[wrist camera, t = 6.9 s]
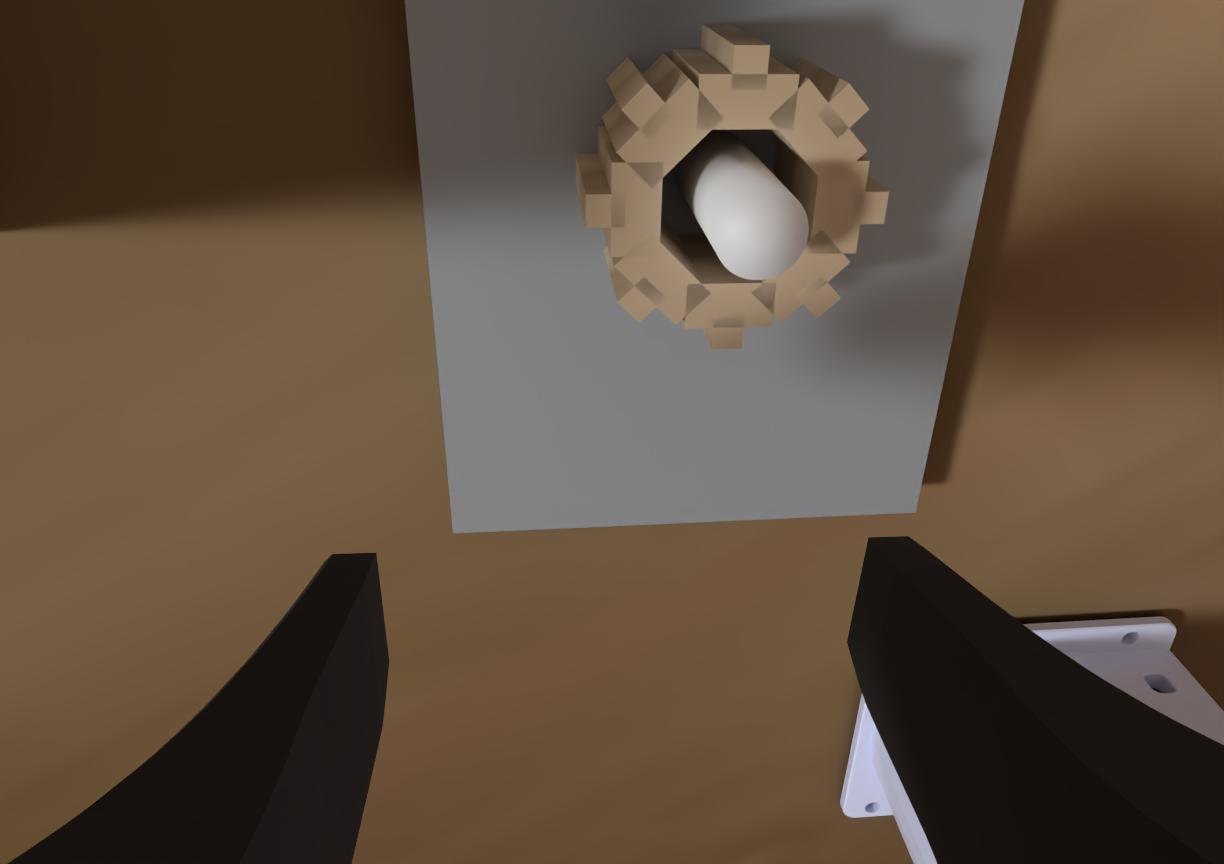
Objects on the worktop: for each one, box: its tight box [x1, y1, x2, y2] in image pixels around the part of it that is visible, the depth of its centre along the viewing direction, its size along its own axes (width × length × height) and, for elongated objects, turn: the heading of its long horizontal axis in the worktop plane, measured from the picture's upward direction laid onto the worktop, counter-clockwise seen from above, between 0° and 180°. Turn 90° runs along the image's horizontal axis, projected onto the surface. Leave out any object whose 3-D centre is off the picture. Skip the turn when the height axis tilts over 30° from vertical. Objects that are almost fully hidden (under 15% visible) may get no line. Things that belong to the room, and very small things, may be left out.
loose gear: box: [576, 24, 889, 349], centre depth 18 cm, size 6×6×3 cm
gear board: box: [405, 0, 1024, 533], centre depth 17 cm, size 12×22×6 cm, turn 179°
